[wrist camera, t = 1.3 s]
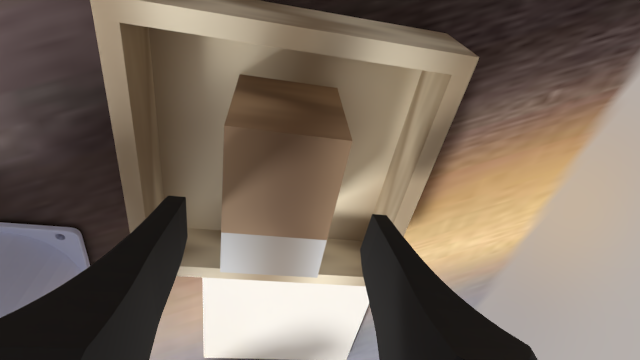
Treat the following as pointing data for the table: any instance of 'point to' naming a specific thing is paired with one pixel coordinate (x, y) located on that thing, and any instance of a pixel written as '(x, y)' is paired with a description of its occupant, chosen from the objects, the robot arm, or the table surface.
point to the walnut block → (281, 176)
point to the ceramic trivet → (280, 319)
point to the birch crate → (283, 64)
